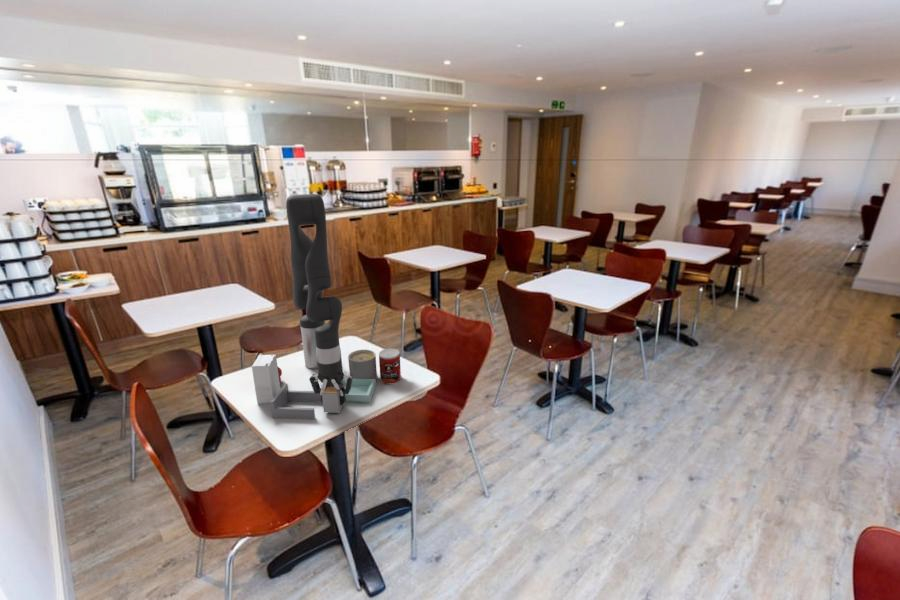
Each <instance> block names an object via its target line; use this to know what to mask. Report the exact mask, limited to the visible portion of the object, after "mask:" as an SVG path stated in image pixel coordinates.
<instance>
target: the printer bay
mask: <svg viewBox="0 0 900 600" xmlns="http://www.w3.org/2000/svg"><path fill="white" fill-rule="evenodd" d="M288 402H310V403H311V402H315V403H316V402H317V403H318V402H319V403H322V402H321V395H320V394H319V393H317V394H316V393H314V390H290V389H289V386H288V383H285V384H283V386H282V387H280V390H279V392H278V393H277V394H276V395H275V397H274V398H273V399H272V400H271V402H270V403H269V404H270V409H271V415H272V416H271V417H272V419H293V420H294V419H297V420H298V419H299V420H314V419H316V413H315V407H293V406H289V407H288V406H286V405H287V404H288Z"/></svg>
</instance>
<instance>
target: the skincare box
mask: <svg viewBox="0 0 900 600" xmlns="http://www.w3.org/2000/svg"><path fill="white" fill-rule="evenodd" d="M278 367H279V366H278V362H277V354H259V355H258V356H257V358H256V359H255V360H254V362H253V364H252V365H251V370H252V375H253V383H254V390H255V397H256V402H257V404H259V405H260V404H270V402H271V400H272V399H273V398H274V397H275V395H276V394H277V393H278V392H279V390H280V389H281V381H280V382H279V374H278Z"/></svg>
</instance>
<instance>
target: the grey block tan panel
mask: <svg viewBox="0 0 900 600" xmlns="http://www.w3.org/2000/svg"><path fill="white" fill-rule="evenodd" d="M322 400H323V403H322V408H323V413H329V414H331V413H333V414H339V413H340V412H341V410H342V408H343V407H344V404H343V405H340V394H339V391H337V390H336V388H335V387H326V389H325V390H324V391H323V393H322Z"/></svg>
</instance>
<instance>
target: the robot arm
mask: <svg viewBox="0 0 900 600" xmlns="http://www.w3.org/2000/svg"><path fill="white" fill-rule="evenodd" d="M285 203H286V204H285V207H286V208H285V209H286V216H287V222H288V230H289V239H290V243H289V244H290V262H291V263H290V264H291V271H292V301H293V305H294V308H296V310H299V311H301V310H305V313H306V314H305V315H303V316H301V317H300V318H299V323H300V324H299V327H300V332H301V333H300V334H301V343H302V349H303V356H304V365H305V367H306V368H307V369H308V368H309V369H317V372H318V374H315V373H313V374H311V376H310V378H309V379H308V380H309V382H310V385H311V388H312V391H314V393H316V394H317V393H319V394H320V395H321V402H320V403H321V404H323V400H322V393H323V391H324V390H325V389H326V387H335V388H336V390H337V391H339V394H340V405H343V406H344V404H345V403H346V402H345V401H346V398H345V394H348V393H349V392H350V390H351V384H352V379H353V376H352V375H350V374H349V375H347V374H346V375H345V372H344V371H343V361H342V360H343V359H342V350H341V345H340V336H339V329H340V323H341V317H342V313H343V303H342V301H341V299H340V298H339V297H337V296H325V297H324V293H323V291H326V290H329V289H331V288H332V287H333V285H332V284H333V282H332V276H331V270H330V269H331V268H330V264H329V256H328V254H329V253H328V234H327V233H328V232H327V220H326V219H327V217H326V209H325V208H326V207H325V202H324V200H323V197H322V196H321V195H320V194H318V193H317V194H316V193H307V194H306V193H305V194H291V195H289V196H288V197H287V199H286V202H285ZM309 225H315V229H316V230H315V236H314V239H313V240H312V239H311V238H310V237H309V236H308V235H307V234H306V233H305V231H303V229H302V227H301V226H309ZM326 321H328V322H327V323H326ZM343 379H344V380H345V383H347V384H346V389H344V387H343V383H342V380H343ZM319 382H321V383H322V384H321V386H320V383H319Z"/></svg>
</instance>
